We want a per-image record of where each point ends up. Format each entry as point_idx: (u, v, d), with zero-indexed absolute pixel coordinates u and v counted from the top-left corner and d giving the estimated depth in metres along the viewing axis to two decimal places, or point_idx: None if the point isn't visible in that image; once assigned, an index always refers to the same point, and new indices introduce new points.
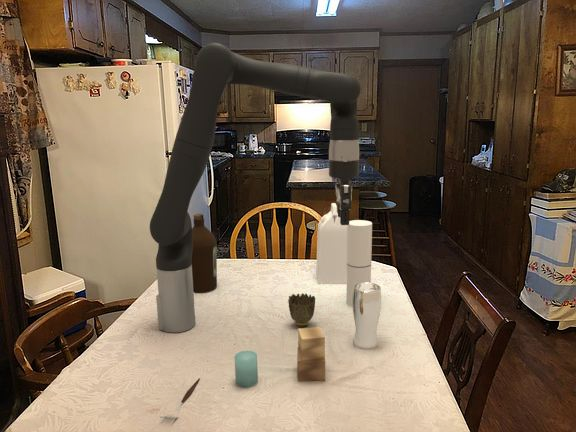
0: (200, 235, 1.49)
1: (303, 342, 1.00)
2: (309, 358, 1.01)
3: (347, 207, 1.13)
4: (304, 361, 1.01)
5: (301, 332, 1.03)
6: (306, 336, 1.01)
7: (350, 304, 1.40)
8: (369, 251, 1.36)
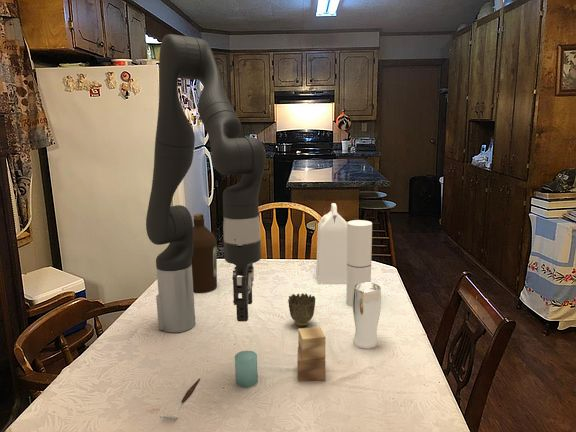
0: (200, 235, 1.49)
1: (304, 342, 1.00)
2: (310, 358, 1.01)
3: (241, 303, 0.91)
4: (304, 361, 1.01)
5: (301, 332, 1.03)
6: (307, 336, 1.01)
7: (350, 304, 1.40)
8: (369, 251, 1.36)
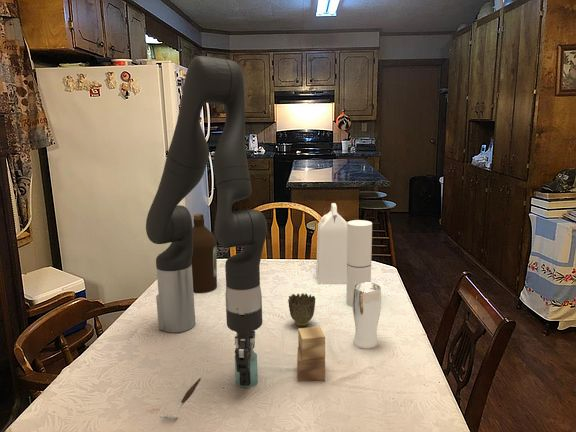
0: (200, 235, 1.49)
1: (303, 342, 1.00)
2: (309, 358, 1.01)
3: (244, 371, 0.96)
4: (304, 361, 1.01)
5: (301, 332, 1.03)
6: (306, 336, 1.01)
7: (350, 304, 1.40)
8: (369, 251, 1.36)
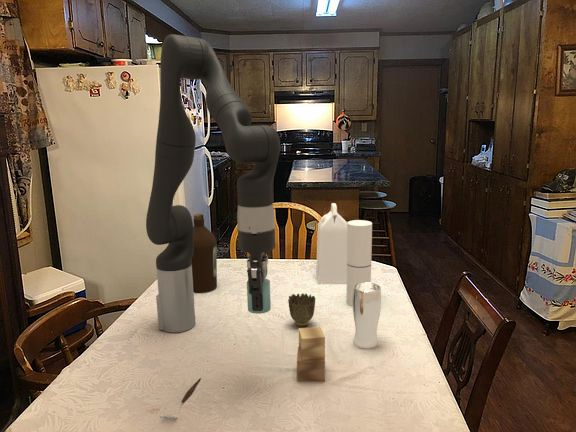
0: (200, 235, 1.49)
1: (303, 342, 1.00)
2: (309, 358, 1.01)
3: (257, 293, 0.92)
4: (304, 361, 1.01)
5: (301, 332, 1.03)
6: (306, 336, 1.01)
7: (350, 304, 1.40)
8: (369, 251, 1.36)
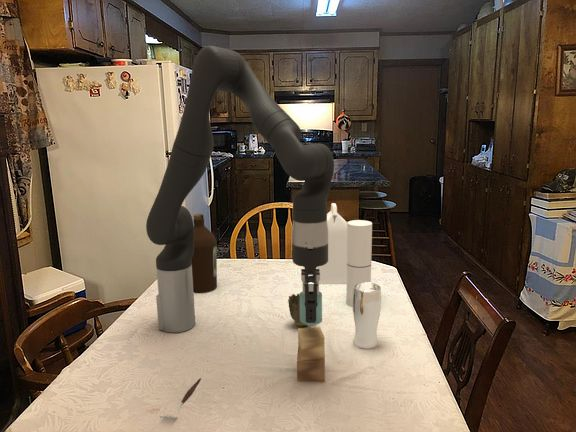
0: (200, 235, 1.49)
1: (302, 342, 1.00)
2: (309, 358, 1.01)
3: (312, 306, 0.95)
4: (304, 361, 1.01)
5: (301, 332, 1.03)
6: (306, 336, 1.01)
7: (350, 304, 1.40)
8: (369, 251, 1.36)
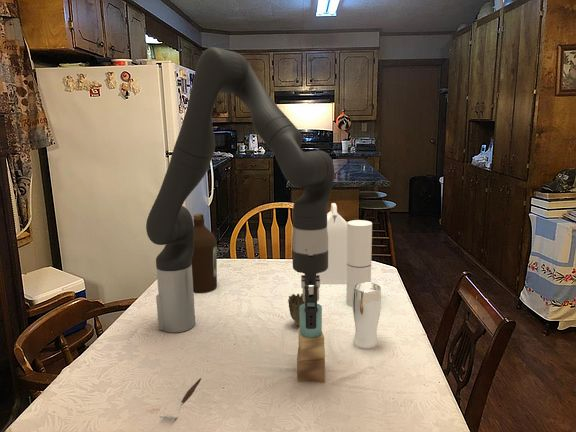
0: (200, 235, 1.49)
1: (302, 342, 1.00)
2: (308, 358, 1.01)
3: (312, 311, 0.94)
4: (304, 361, 1.01)
5: None
6: None
7: (350, 304, 1.40)
8: (369, 251, 1.36)
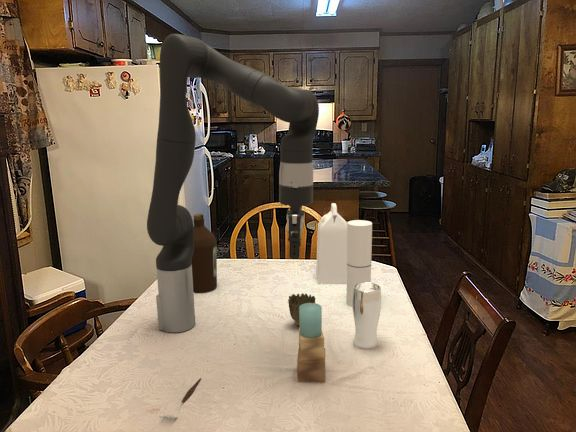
0: (200, 235, 1.49)
1: (302, 342, 1.00)
2: (308, 358, 1.01)
3: (295, 240, 1.00)
4: (304, 361, 1.01)
5: None
6: None
7: (350, 304, 1.40)
8: (369, 251, 1.36)
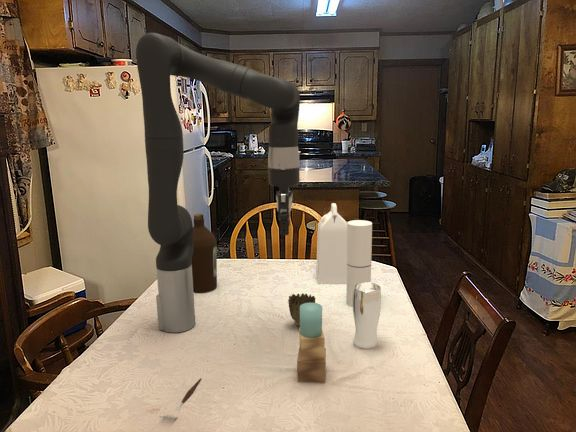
0: (200, 235, 1.49)
1: (302, 342, 1.00)
2: (308, 358, 1.01)
3: (285, 217, 1.09)
4: (304, 361, 1.01)
5: None
6: None
7: (350, 304, 1.40)
8: (369, 251, 1.36)
